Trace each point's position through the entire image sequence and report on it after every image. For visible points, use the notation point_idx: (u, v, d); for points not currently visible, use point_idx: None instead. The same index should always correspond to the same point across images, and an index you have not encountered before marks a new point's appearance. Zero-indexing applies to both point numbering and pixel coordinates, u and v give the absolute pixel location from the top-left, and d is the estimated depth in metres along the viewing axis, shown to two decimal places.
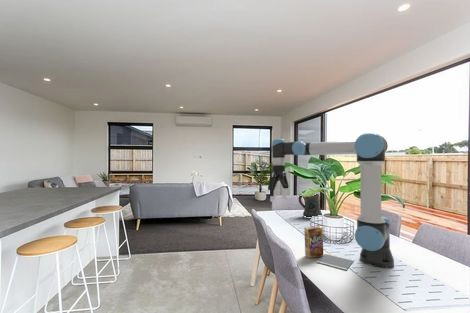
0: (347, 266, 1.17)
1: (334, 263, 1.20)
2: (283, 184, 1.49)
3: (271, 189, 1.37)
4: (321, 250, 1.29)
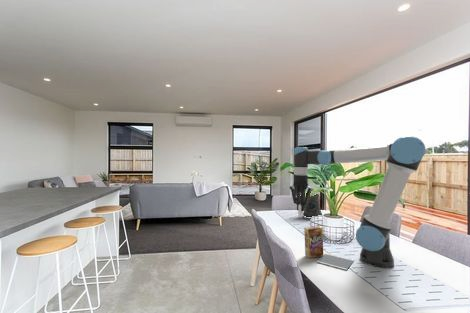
0: (347, 266, 1.17)
1: (334, 263, 1.20)
2: None
3: None
4: (321, 250, 1.29)
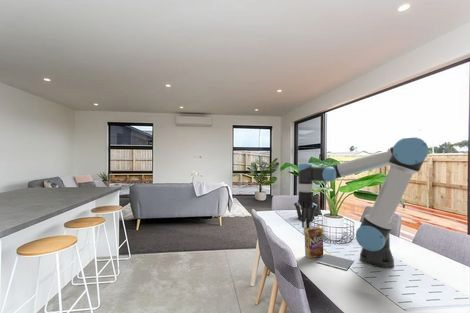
0: (347, 266, 1.17)
1: (334, 263, 1.20)
2: None
3: None
4: (321, 250, 1.29)
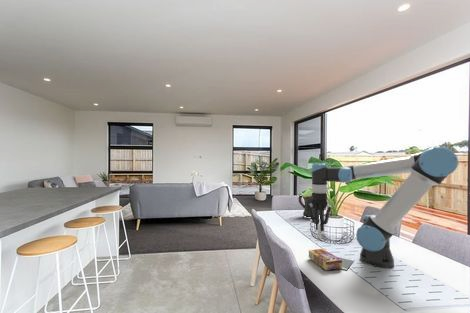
0: (347, 266, 1.17)
1: None
2: None
3: (313, 222, 1.29)
4: None
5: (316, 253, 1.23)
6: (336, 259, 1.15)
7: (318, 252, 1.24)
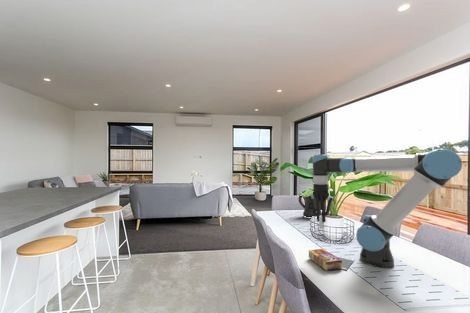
0: (347, 266, 1.17)
1: None
2: None
3: None
4: None
5: (316, 253, 1.23)
6: (336, 259, 1.15)
7: (318, 252, 1.24)
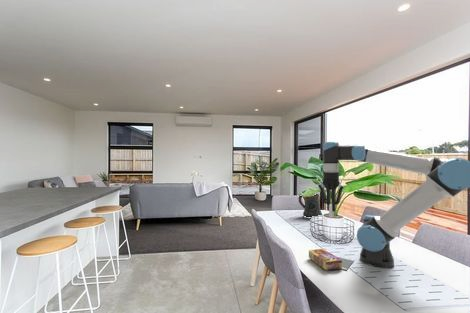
0: (347, 266, 1.17)
1: None
2: None
3: None
4: None
5: (316, 253, 1.23)
6: (336, 259, 1.15)
7: (318, 252, 1.24)
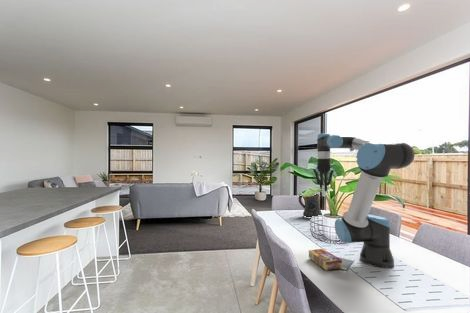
0: (347, 266, 1.17)
1: None
2: None
3: None
4: None
5: (316, 253, 1.23)
6: (336, 259, 1.15)
7: (318, 252, 1.24)
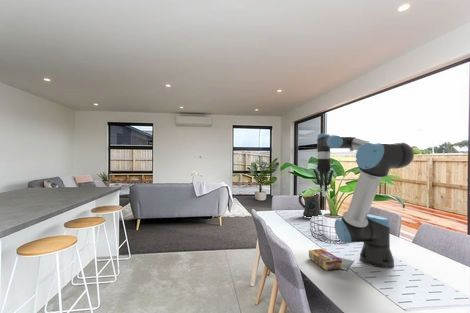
0: (347, 266, 1.17)
1: None
2: None
3: (318, 184, 1.52)
4: None
5: (316, 253, 1.23)
6: (336, 259, 1.15)
7: (318, 252, 1.24)
